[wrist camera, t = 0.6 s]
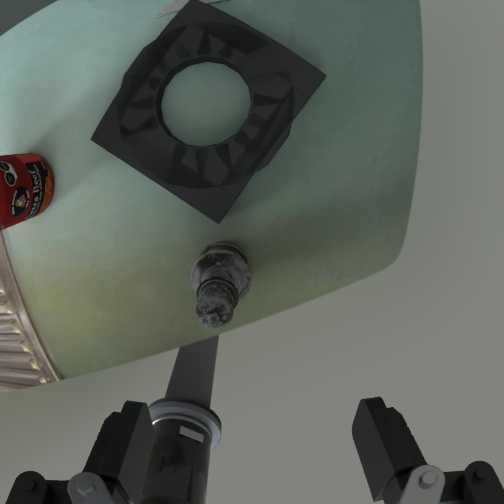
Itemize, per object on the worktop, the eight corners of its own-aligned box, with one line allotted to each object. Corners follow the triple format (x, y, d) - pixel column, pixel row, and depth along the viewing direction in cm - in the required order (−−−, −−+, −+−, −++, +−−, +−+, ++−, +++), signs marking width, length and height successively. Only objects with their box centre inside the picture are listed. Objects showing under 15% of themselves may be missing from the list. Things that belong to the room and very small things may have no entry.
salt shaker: (237, 298, 34) (235, 366, 23) (188, 279, 34) (162, 339, 22) (259, 252, 33) (267, 305, 21) (207, 230, 32) (187, 274, 21)
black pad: (224, 222, 32) (223, 227, 30) (94, 137, 29) (86, 137, 27) (326, 83, 27) (331, 79, 26) (190, 2, 24) (187, -5, 22)
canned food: (50, 223, 31) (-8, 251, 21) (7, 206, 30) (-51, 227, 20) (61, 159, 29) (-2, 168, 19) (16, 147, 28) (-46, 154, 18)
